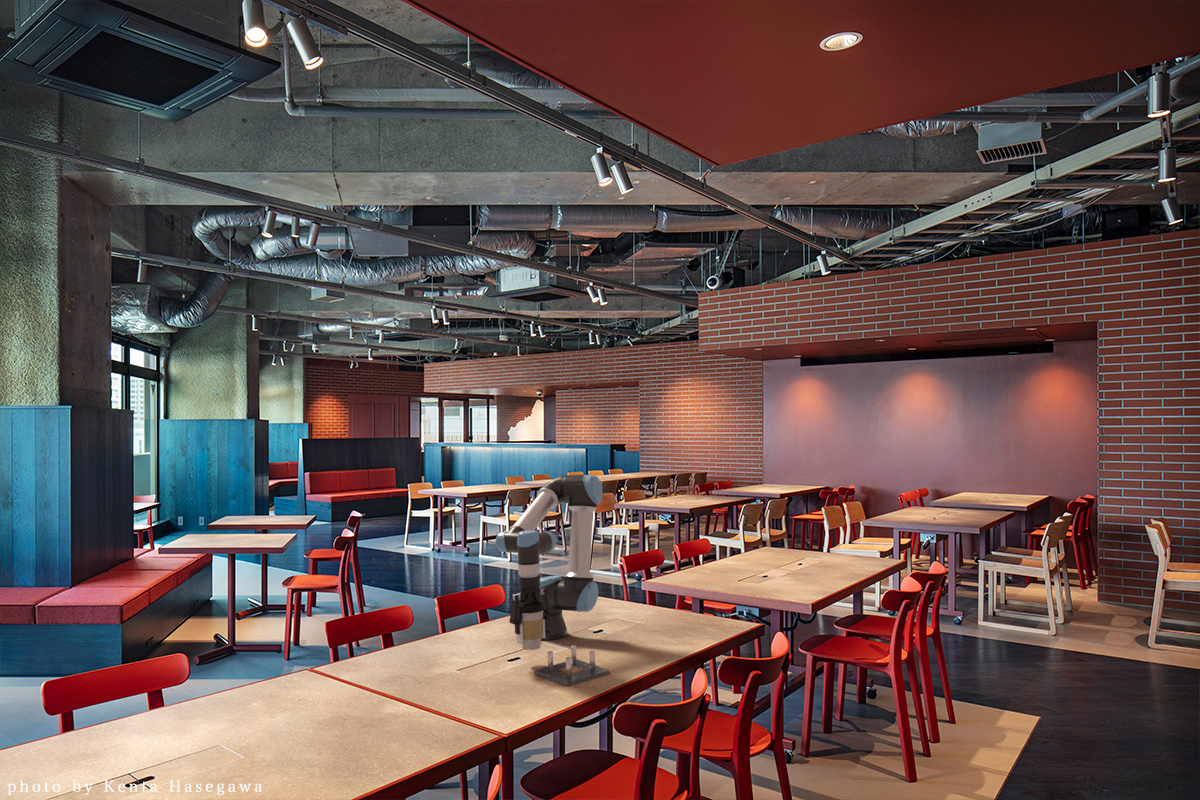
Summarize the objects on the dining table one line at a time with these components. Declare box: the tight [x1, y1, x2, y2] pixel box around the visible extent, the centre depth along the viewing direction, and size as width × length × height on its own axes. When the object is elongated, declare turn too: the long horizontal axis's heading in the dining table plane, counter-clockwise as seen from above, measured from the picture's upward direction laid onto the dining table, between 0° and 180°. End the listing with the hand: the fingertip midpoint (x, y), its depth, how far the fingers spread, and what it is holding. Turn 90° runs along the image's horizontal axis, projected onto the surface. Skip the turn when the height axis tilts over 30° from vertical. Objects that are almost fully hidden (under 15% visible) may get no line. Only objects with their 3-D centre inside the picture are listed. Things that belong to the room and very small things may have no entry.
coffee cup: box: [518, 602, 544, 651], centre depth 255 cm, size 10×10×15 cm
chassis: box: [533, 645, 611, 687], centre depth 243 cm, size 18×18×7 cm
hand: (531, 640), depth 255 cm, fingers closed on coffee cup, 9 cm apart
